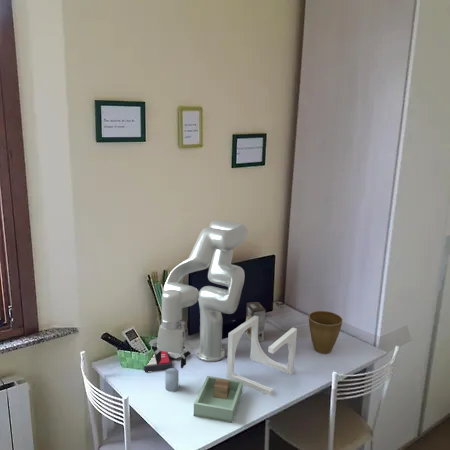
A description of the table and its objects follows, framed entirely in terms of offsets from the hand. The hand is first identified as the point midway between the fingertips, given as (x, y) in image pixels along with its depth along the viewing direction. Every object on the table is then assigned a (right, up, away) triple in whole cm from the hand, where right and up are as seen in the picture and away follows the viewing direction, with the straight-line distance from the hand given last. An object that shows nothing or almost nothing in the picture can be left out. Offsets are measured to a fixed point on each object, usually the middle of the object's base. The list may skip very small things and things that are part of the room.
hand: (170, 364), depth 179 cm
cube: (+19, -11, -2) cm, 22 cm away
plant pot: (+65, -4, +35) cm, 74 cm away
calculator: (-9, -6, +22) cm, 24 cm away
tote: (+18, -13, -6) cm, 23 cm away
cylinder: (0, -10, +3) cm, 11 cm away
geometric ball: (-1, -4, +26) cm, 26 cm away
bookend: (+35, -9, +14) cm, 39 cm away
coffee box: (+35, 0, +45) cm, 56 cm away
